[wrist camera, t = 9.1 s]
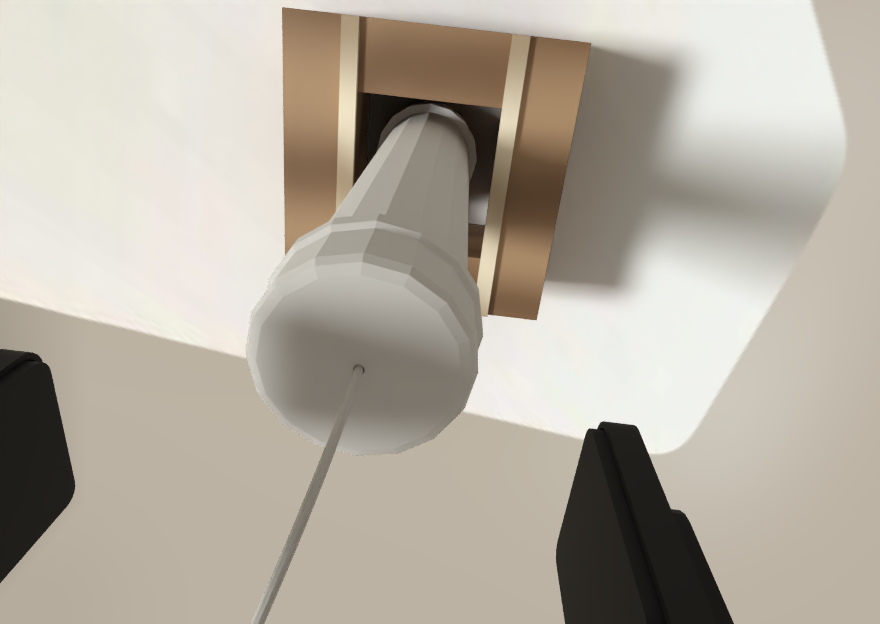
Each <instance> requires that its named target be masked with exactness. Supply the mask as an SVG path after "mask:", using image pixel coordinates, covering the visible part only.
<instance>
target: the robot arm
mask: <svg viewBox="0 0 880 624" xmlns="http://www.w3.org/2000/svg"><path fill="white" fill-rule="evenodd" d="M74 490H75V480H74V476H73V471H72V466H71V462H70V457H69V453H68V448H67V443H66V439H65V434H64V429H63V425H62V420H61V416H60V411H59V406H58V402H57V397H56V393H55V388H54V384H53V379H52V374H51V371H50V368H49V366H48V365H47V364H46V363H43V362H42V359H41V358H40V357H39V356H38V355H37V354H35V353H31V352H23V351H14V350H6V349H0V583H1V582H2V580H3V579H4V578H5V577H6V576H7V575H8V573H9V572H10V571H11V570H12V569H13V568H14V567H15V566H16V564H17V563H18V562H19V561H20V560H21V559H22V557H23V556H24V555H25V554H26V552H28V550H29V549H30V548H31V547H32V546H33V545H34V544H35V542H36V541H37V540H38V539H39V538H40V537H41V536H42V534H43V533H44V532H45V531H46V530H47V529H48V527H49V526H50V525H51V524H52V523H53V522H54V521H55V519H56V518H57V517H58V516H59V515H60V514H61V513H62V511H63V510H64V509H65V508H66V507H67V505H68V504H69V503H70V501H71V499H72V497H73V494H74ZM556 563H557V571H558V578H559V585H560V592H561V598H562V604H563V612H564V618H565V624H734V623H733V621H732V618H731V616H730V614H729V612H728V609H727V607H726V605H725V602H724V600H723V598H722V595H721V593H720V591H719V589H718V586H717V584H716V581H715V580H714V577H713V575H712V572H711V570H710V568H709V565H708V563H707V561H706V559H705V556H704V554H703V552H702V549H701V547H700V545H699V542H698V540H697V538H696V536H695V533H694V531H693V529H692V526H691V524H690V522H689V520H688V518H687V517H686V515H685V514H684V513H683V512H681V511H680V510H673V509H671V508H670V506H669V504H668V501H667V499H666V496H665V494H664V491H663V489H662V486H661V484H660V481H659V479H658V476H657V474H656V472H655V469H654V467H653V464H652V462H651V459H650V457H649V454H648V452H647V449H646V447H645V444H644V442H643V439H642V437H641V434H640V432H639V430H638V428H637V427H636V426H635V425H628V424H620V423H612V422H601V423H600V424H599V426H598V429H588V431H587V433H586V435H585V439H584V443H583V447H582V451H581V454H580V458H579V462H578V466H577V470H576V473H575V477H574V481H573V485H572V489H571V493H570V497H569V500H568V504H567V508H566V512H565V515H564V519H563V523H562V527H561V531H560V535H559V538H558V543H557V549H556Z"/></svg>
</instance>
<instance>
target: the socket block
mask: <svg viewBox="0 0 880 624" xmlns="http://www.w3.org/2000/svg"><path fill="white" fill-rule="evenodd" d="M282 29H283V113H284V196H285V255H286V254H287V253H288V251H289V250H290V248H291V247H292V246H293V244H294V243H295V242H296V241H297V239H298V238H299V237H301V236H303V235H305V234H307V233H308V232H310V231H312V230H314V229H316V228H317V227H319V226H321V225H323V224H325V223H327V222H328V221H330V219H331V218H332V217H333V215H334V214H335V212H336V211H337V209H338V208H339V206H340V205H341V204H342V202H343V201H344V199H345V198H346V196H347V195H348V193H349V192H350V190H351V189H352V188H353V186H354V185H355V183H356V182H357V180H358V179H359V177H360V176H361V174H362V173H363V172H364V170H365V169H366V167H367V150H368V129H369V109H370V93H374V94H382V95H391V96H400V97H408V98H417V99H425V100H434V101H442V102H451V103H460V104H468V105H477V106H485V107H494V108H502V112H501V119H500V126H499V133H498V140H497V147H496V154H495V161H494V168H493V175H492V182H491V189H490V196H489V203H488V210H487V217H486V224H485V226H484V225H475V224H468V268H467V269H468V271H469V272H470V274H471V276H472V278H473V279H474V281H475V283H476V285H477V286H478V288H479V295H480V306H481V316H486V317H487V315H488V314H489V315H497V316H505V317H514V318H522V319H530V320H537V315H538V310H539V305H540V300H541V295H542V290H543V285H544V280H545V275H546V270H547V265H548V260H549V254H550V249H551V244H552V239H553V234H554V229H555V224H556V219H557V214H558V209H559V204H560V199H561V194H562V189H563V183H564V178H565V173H566V168H567V163H568V158H569V153H570V148H571V143H572V138H573V133H574V128H575V123H576V117H577V112H578V107H579V102H580V97H581V92H582V87H583V82H584V77H585V72H586V67H587V62H588V57H589V51H590V46H591V43H586V42H578V41H569V40H560V39H552V38H543V37H534V36H526V35H517V34H509V33H500V32H491V31H483V30H474V29H465V28H457V27H448V26H439V25H431V24H422V23H413V22H405V21H396V20H388V19H379V18H370V17H362V16H353V15H345V14H336V13H327V12H318V11H310V10H301V9H292V8H284V7H282Z"/></svg>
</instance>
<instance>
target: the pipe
mask: <svg viewBox="0 0 880 624" xmlns="http://www.w3.org/2000/svg"><path fill="white" fill-rule="evenodd" d="M476 162H477V157H476V146H475V138H474V136H473V135H472V133H471V131H470V129H469V127H468V125H467V123H466V121H465V119H464V118H463V117H462V116H461V115H460V114H459V113H457V112H456V111H455V110H454V109H453V108H451V107H450V106H447V105H444V104H441V103H438V102H434V101H428V102H420V103H414V104H412V105H410V106H408V107H406V108H405V109H403V110H401V111H400V112H398V113H396V114H394V115H393V117H392V118H391V119H390V121H389V122H388V124H387V125H386V126H385V128H384V129H383V131H382V132H381V135H380V139H379V144H378V148H377V153H376V154H375V156H374V157H373V159H372V160H371V161H370V163H369V164H368V166H367V167H366V169H365V170H364V172H363V173H362V174H361V176H360V177H359V179H358V180H357V182H356V183H355V185H354V186H353V188H352V189H351V190H350V192H349V193H348V195H347V196H346V198H345V199H344V201H343V202H342V204H341V205H340V206H339V208H338V209H337V211H336V212H335V214H334V215H333V217H332V218H331V219H330V221H328V222H327V223H325V224H323V225H321V226H319V227H317V228H316V229H314V230H312V231H310V232H308V233H307V234H305V235H303V236H301V237H299V238H298V239H297V241H296V242H295V243H294V244H293V246H292V247H291V248H290V250H289V251H288V253H287V254H286V255H285V257H284V258H283V260H282V261H281V262H280V264H279V265H278V267H277V268H276V269H275V271H274V272H273V273H272V275H271V276H270V278H269V282H268V288H267V291H266V292H265V294H264V295H263V296H262V298H261V299H260V301H259V302H258V303H257V305H256V306H255V307H254V309H253V310H252V312H251V318H250V324H249V331H248V338H247V344H246V357H247V361H248V364H249V367H250V370H251V373H252V377H253V380H254V383H255V387H256V390H257V393H258V395H259V396H260V397H261V398H262V399H263V401H264V402H265V403H266V404H267V406H268V407H269V408H270V409H271V410H272V412H273V413H274V414H275V415H276V417H277V418H278V419H279V420H280V421H281V423H282V424H283V425H285V426H286V427H288V428H290V429H291V430H293V431H295V432H296V433H298V434H299V435H301V436H303V437H304V438H306V439H308V440H309V441H311V442H312V443H314V444H316V445H317V446H321V447H325V449H324V451H323V454H322V456H321V459H320V461H319V464H318V467H317V469H316V471H315V474H314V476H313V479H312V482H311V484H310V486H309V489H308V491H307V493H306V496H305V498H304V501H303V503H302V506H301V508H300V510H299V513H298V515H297V518H296V520H295V522H294V525H293V527H292V529H291V532H290V534H289V537H288V539H287V541H286V544H285V546H284V548H283V551H282V553H281V555H280V558H279V560H278V562H277V565H276V567H275V569H274V571H273V574H272V577H271V578H270V581H269V583H268V585H267V588H266V590H265V592H264V594H263V597H262V599H261V602H260V604H259V606H258V608H257V610H256V612H255V615H254V617H253V620H252V622H251V624H264V623H265V621H266V618H267V616H268V614H269V611H270V609H271V607H272V604H273V602H274V600H275V598H276V595H277V593H278V591H279V588H280V586H281V584H282V581H283V579H284V577H285V574H286V572H287V570H288V567H289V565H290V562H291V560H292V558H293V555H294V553H295V551H296V548H297V546H298V543H299V541H300V538H301V535H302V534H303V531H304V529H305V526H306V524H307V521H308V519H309V517H310V514H311V512H312V509H313V506H314V504H315V501H316V499H317V496H318V494H319V491H320V489H321V486H322V484H323V481H324V479H325V476H326V473H327V471H328V468H329V466H330V463H331V461H332V458H333V455H334V453H335V450H337V451H341V452H344V453H349V454H353V455H356V456H364V455H381V454H397V453H401V452H403V451H405V450H408V449H410V448H413V447H415V446H418V445H420V444H422V443H425V442H427V441H430V440H432V439H434V438H435V437H436V436H437V435H438V434H439V433H440V432H441V431H442V430H443V429H444V428H445V427H446V426H447V425H449V424H450V423H451V421H453V420H454V419H455V418H456V417H457V416H458V415H459V414H460V413H461V412H462V410H463V409H464V408H465V406H466V403H467V400H468V398H469V395H470V392H471V390H472V387H473V384H474V382H475V379H476V376H477V374H478V348H479V346H480V343H481V340H482V337H483V328H482V317H481V306H480V295H479V288H478V286H477V285H476V283H475V281H474V279H473V278H472V276H471V274H470V272H469V271H468V269H467V268H468V207H469V181H470V180H471V178H472V175H473V171H474V168H475V165H476Z"/></svg>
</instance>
